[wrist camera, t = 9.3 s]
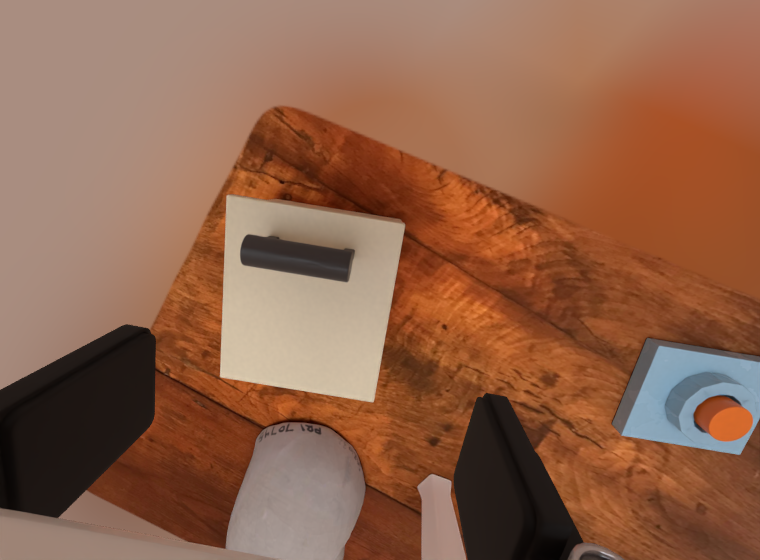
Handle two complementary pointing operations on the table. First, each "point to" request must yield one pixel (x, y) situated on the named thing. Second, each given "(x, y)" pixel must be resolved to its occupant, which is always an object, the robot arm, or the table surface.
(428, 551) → the perfume bottle
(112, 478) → the table surface
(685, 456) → the table surface
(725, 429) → the button
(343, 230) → the lid
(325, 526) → the grey rounded lump
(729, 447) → the box
